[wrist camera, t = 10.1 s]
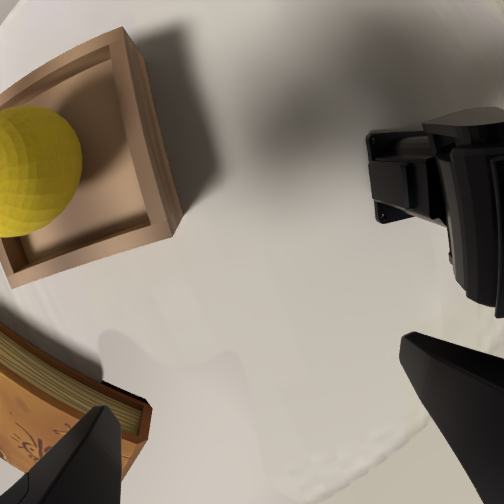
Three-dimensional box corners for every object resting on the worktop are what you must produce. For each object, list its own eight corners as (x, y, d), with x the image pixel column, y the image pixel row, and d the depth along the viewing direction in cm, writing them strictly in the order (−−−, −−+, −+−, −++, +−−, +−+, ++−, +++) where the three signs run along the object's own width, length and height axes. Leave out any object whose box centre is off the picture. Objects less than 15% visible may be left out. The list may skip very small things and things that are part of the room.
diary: (110, 480, 27) (105, 509, 22) (1, 422, 22) (-13, 448, 17) (153, 401, 23) (146, 449, 17) (-10, 309, 18) (-42, 339, 13)
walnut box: (145, 61, 15) (122, 26, 9) (184, 214, 18) (172, 236, 13) (18, 123, 14) (-30, 119, 9) (52, 257, 18) (11, 289, 12)
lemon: (81, 228, 14) (2, 293, 6) (12, 190, 12) (-80, 225, 5) (121, 135, 13) (46, 122, 5) (45, 102, 11) (-47, 81, 4)
